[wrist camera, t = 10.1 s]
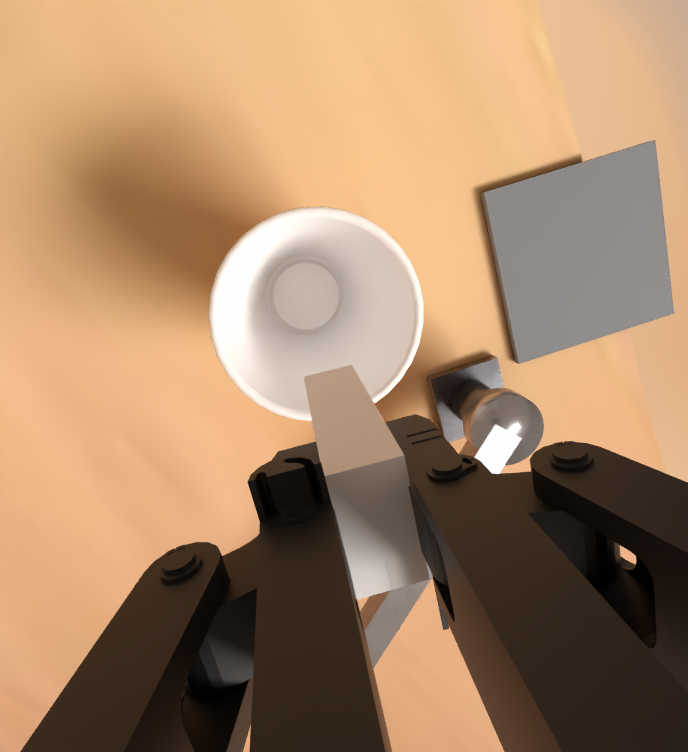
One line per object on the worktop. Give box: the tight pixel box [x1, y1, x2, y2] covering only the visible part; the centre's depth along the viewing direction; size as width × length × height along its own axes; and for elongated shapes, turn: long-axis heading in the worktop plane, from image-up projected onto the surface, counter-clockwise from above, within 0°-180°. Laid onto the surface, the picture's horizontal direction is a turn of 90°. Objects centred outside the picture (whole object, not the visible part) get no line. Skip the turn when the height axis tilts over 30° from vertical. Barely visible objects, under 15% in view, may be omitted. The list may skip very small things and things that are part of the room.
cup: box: [208, 206, 423, 421], centre depth 29 cm, size 10×10×11 cm
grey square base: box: [427, 356, 504, 442], centre depth 35 cm, size 5×5×5 cm
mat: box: [481, 140, 674, 364], centre depth 35 cm, size 12×12×1 cm
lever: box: [360, 388, 544, 668], centre depth 32 cm, size 4×26×5 cm, turn 151°
